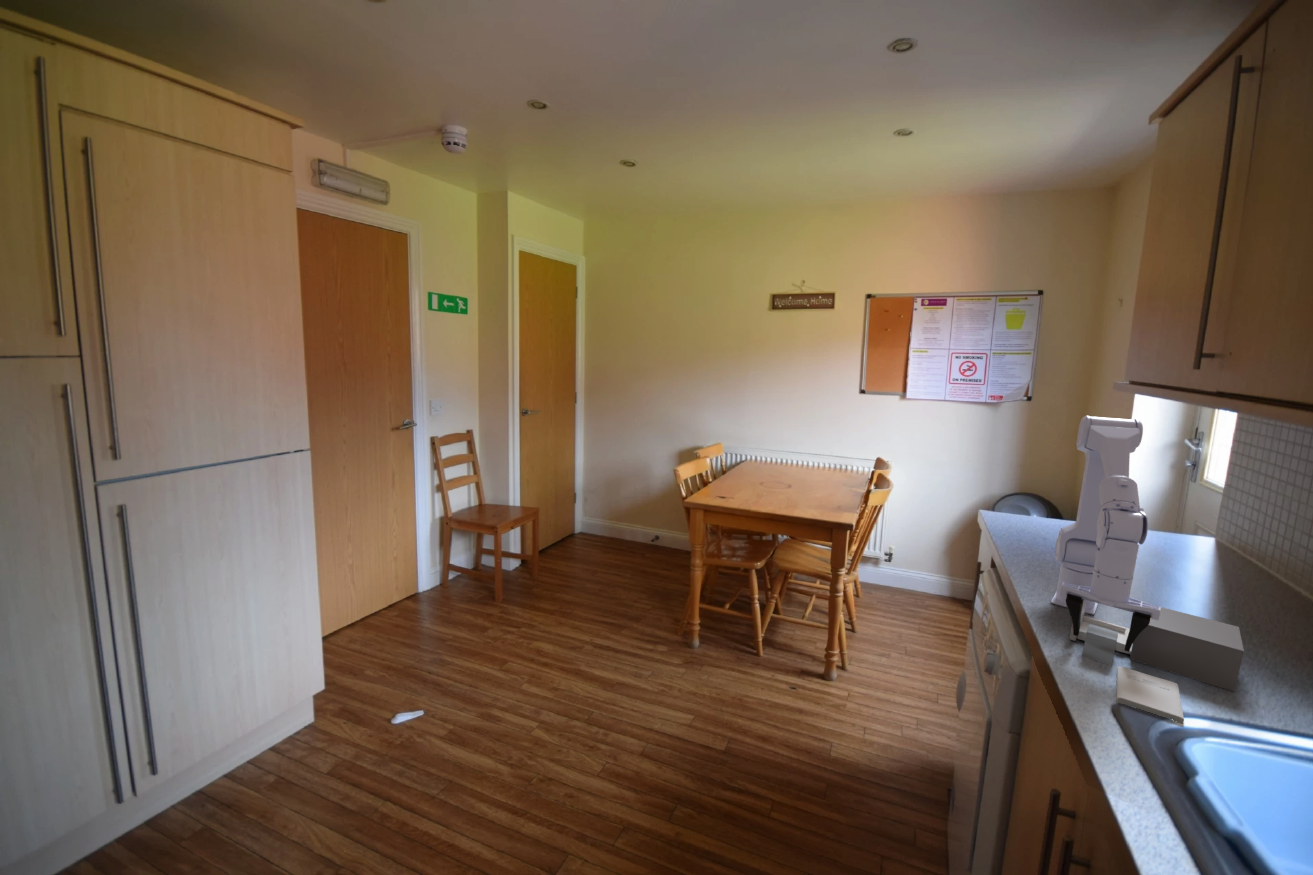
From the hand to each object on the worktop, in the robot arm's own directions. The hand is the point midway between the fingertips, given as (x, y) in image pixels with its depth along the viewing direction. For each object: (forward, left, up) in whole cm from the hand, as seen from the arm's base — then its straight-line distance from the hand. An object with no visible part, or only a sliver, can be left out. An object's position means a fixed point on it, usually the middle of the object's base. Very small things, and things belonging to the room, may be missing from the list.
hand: (1101, 641), depth 107 cm
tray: (-9, +2, -3) cm, 10 cm away
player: (-9, +11, -3) cm, 15 cm away
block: (0, 0, -3) cm, 3 cm away
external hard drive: (+9, +7, -4) cm, 13 cm away
